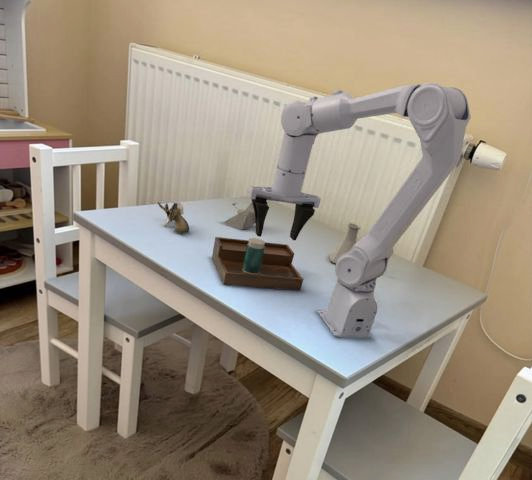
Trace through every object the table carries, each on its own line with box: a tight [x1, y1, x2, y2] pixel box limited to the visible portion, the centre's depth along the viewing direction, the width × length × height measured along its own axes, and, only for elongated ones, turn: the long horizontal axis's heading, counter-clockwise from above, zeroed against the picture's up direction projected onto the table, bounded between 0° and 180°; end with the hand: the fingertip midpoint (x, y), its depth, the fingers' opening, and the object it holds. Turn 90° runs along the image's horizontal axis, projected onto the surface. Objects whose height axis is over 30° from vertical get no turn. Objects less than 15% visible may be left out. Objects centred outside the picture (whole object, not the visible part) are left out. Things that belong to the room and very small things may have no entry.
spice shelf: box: [211, 236, 304, 291], centre depth 112 cm, size 13×17×5 cm
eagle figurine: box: [157, 201, 190, 235], centre depth 125 cm, size 8×7×9 cm
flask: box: [329, 222, 361, 264], centre depth 129 cm, size 7×7×10 cm
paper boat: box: [222, 202, 256, 231], centre depth 138 cm, size 12×6×9 cm
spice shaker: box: [242, 237, 266, 273], centre depth 108 cm, size 4×4×6 cm
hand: (275, 236), depth 105 cm, fingers open, 7 cm apart
